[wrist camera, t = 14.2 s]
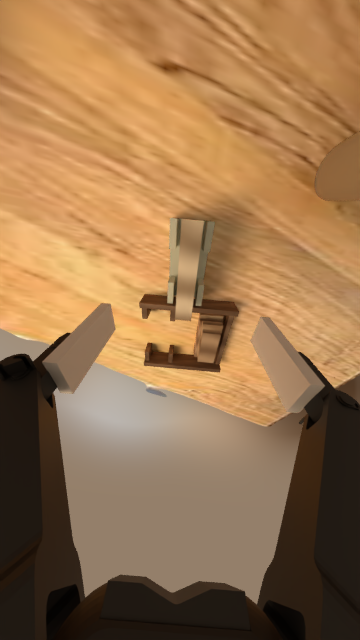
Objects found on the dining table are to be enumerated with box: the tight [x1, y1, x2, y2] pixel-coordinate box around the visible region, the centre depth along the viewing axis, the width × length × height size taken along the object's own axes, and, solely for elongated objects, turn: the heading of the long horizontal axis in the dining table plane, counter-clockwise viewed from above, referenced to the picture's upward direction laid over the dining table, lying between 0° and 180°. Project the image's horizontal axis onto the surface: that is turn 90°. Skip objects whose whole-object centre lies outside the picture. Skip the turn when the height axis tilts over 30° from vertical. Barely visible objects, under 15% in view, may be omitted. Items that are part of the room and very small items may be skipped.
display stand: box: [167, 218, 215, 306], centre depth 33 cm, size 16×8×6 cm, turn 176°
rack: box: [139, 294, 239, 372], centre depth 43 cm, size 21×23×6 cm
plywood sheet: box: [175, 219, 204, 321], centre depth 30 cm, size 16×3×11 cm, turn 176°
